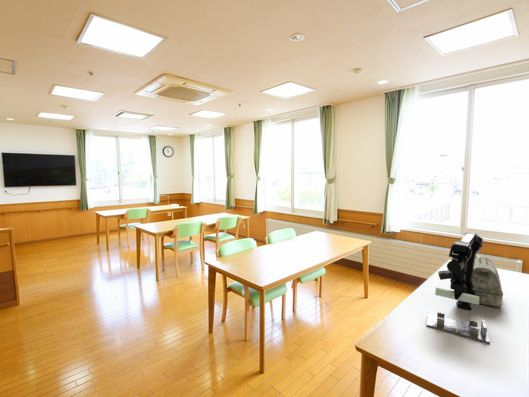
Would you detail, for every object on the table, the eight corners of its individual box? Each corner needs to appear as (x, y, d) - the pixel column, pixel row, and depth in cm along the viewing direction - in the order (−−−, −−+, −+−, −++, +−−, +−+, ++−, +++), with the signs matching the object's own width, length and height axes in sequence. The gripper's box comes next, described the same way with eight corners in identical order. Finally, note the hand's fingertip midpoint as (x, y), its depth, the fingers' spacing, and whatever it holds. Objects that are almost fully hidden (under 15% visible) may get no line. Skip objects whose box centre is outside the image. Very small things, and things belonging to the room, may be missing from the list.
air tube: (435, 293, 145) (435, 285, 144) (477, 302, 135) (478, 295, 135) (435, 296, 142) (435, 288, 141) (478, 306, 132) (479, 298, 131)
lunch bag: (462, 284, 179) (465, 252, 176) (498, 292, 168) (502, 258, 165) (460, 300, 158) (464, 264, 155) (502, 310, 147) (506, 272, 144)
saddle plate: (428, 314, 143) (428, 304, 142) (486, 330, 129) (487, 318, 129) (426, 326, 133) (427, 314, 132) (489, 344, 120) (491, 331, 119)
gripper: (440, 259, 148) (437, 286, 150) (439, 270, 133) (436, 300, 135) (465, 263, 142) (462, 292, 144) (468, 275, 127) (464, 307, 129)
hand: (456, 297), depth 138 cm, fingers closed on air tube, 4 cm apart
